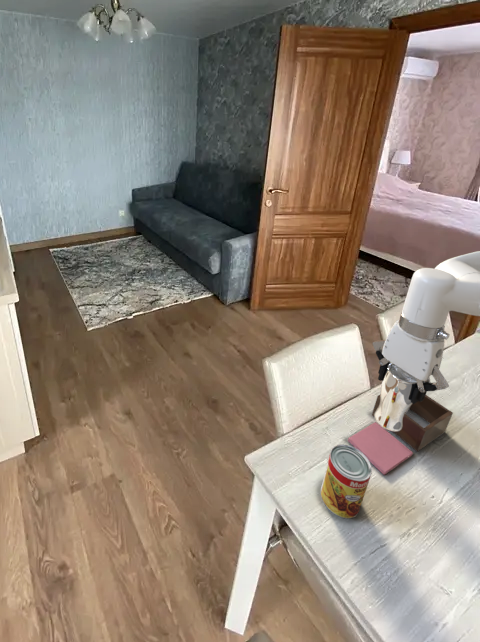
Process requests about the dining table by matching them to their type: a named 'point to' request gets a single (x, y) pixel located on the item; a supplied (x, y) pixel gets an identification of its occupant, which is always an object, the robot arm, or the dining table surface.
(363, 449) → the mat
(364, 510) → the dining table surface
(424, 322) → the robot arm
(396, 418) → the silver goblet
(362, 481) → the canned food
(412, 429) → the brown wooden box
